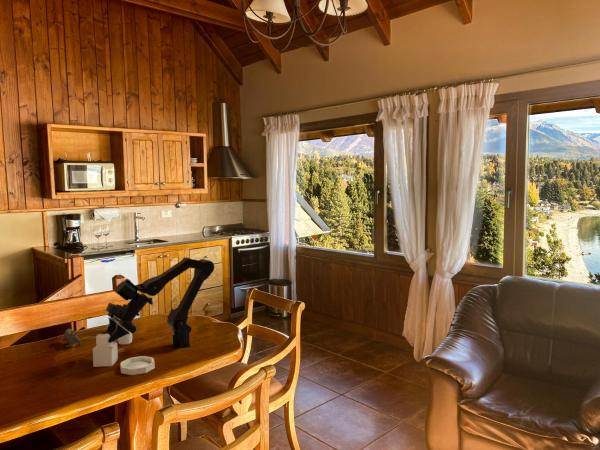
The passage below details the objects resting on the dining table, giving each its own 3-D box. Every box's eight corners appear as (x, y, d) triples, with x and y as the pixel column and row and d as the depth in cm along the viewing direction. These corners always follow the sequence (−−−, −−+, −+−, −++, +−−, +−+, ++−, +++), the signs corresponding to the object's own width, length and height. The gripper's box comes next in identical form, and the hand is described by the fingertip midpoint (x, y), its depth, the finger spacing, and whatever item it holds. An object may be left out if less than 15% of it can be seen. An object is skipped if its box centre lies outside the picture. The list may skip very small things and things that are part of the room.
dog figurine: (83, 346, 196) (82, 329, 195) (69, 349, 192) (68, 332, 191) (72, 339, 204) (71, 323, 203) (58, 342, 200) (57, 326, 199)
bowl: (152, 359, 181) (152, 354, 180) (156, 371, 170) (155, 365, 169) (120, 364, 176) (119, 359, 176) (121, 376, 165) (121, 371, 165)
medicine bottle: (99, 359, 181) (98, 330, 180) (118, 359, 181) (117, 329, 180) (92, 367, 174) (91, 336, 172) (112, 366, 174) (111, 335, 173)
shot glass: (127, 345, 197) (127, 329, 196) (113, 344, 198) (112, 328, 197) (136, 340, 203) (135, 324, 203) (122, 338, 205) (121, 323, 204)
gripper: (111, 290, 186) (83, 322, 180) (126, 300, 171) (96, 334, 166) (132, 306, 192) (105, 337, 186) (148, 316, 177) (120, 351, 171)
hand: (106, 339), depth 177 cm, fingers closed on medicine bottle, 6 cm apart
